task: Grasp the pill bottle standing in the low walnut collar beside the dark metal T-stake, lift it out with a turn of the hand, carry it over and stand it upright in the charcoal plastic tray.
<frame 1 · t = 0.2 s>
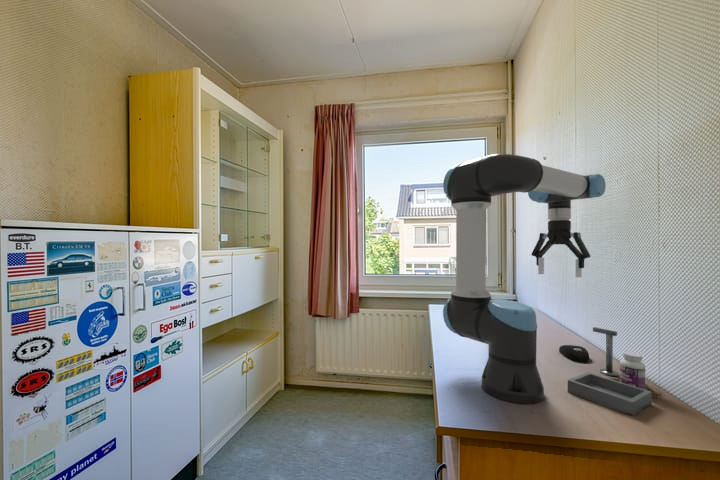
hand: (558, 275, 123), 28 cm above the table, fingers open, 13 cm apart
computer mouse: (574, 358, 113), on the table
collar: (632, 388, 88), on the table
tray: (607, 397, 82), on the table
pill bottle: (632, 389, 88), resting in collar
t stake: (609, 373, 98), on the table
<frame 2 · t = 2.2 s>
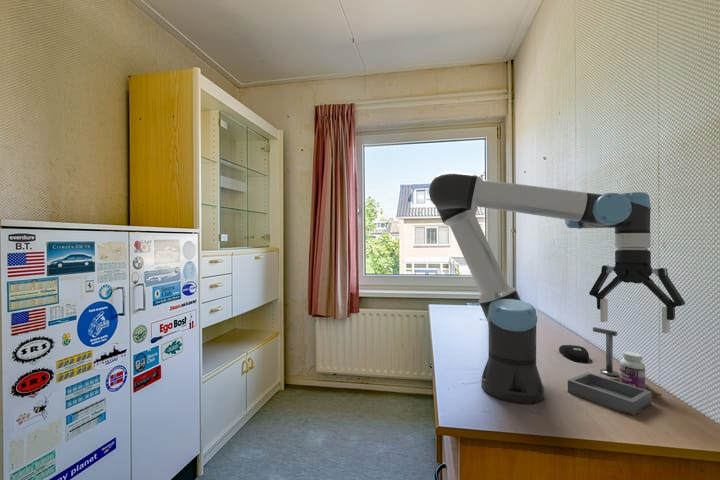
hand: (633, 326, 88), 17 cm above the table, fingers open, 13 cm apart
nothing on the table moved.
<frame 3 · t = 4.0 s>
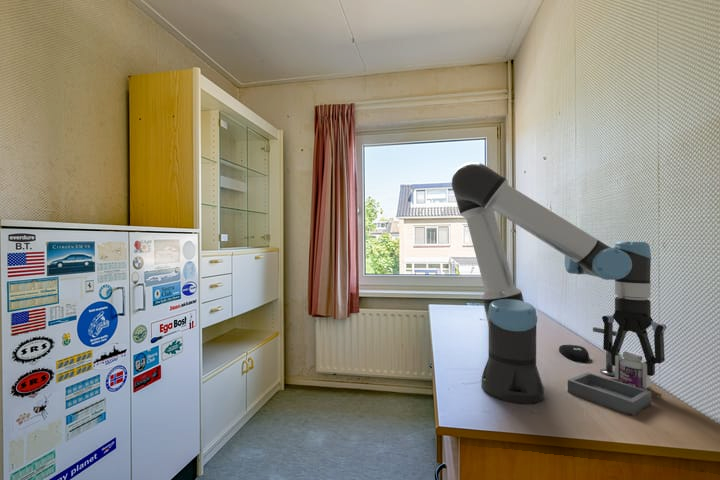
hand: (632, 382, 88), 2 cm above the table, fingers closed on pill bottle, 5 cm apart
pill bottle: (632, 389, 88), resting in collar, touching gripper
everything else where it was.
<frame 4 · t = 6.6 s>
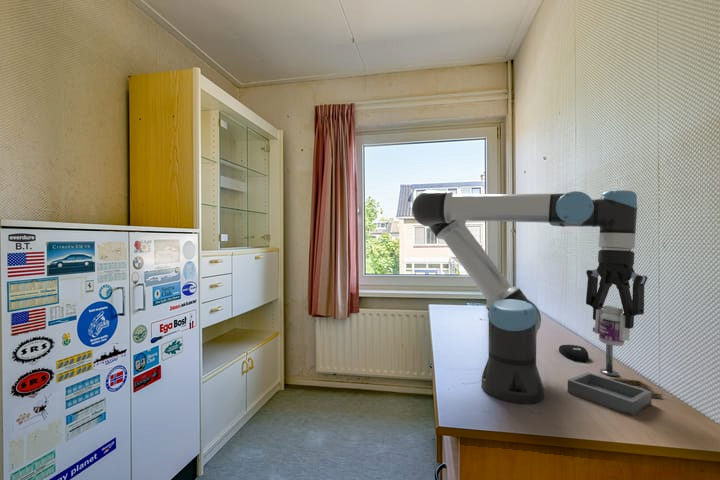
hand: (611, 336, 85), 15 cm above the table, fingers closed on pill bottle, 5 cm apart
pill bottle: (611, 343, 85), point 13 cm above the table, touching gripper
everything else where it was.
when the fingers open (4 cm above the table, at t = 9.3 s): pill bottle drops 2 cm, resting on tray.
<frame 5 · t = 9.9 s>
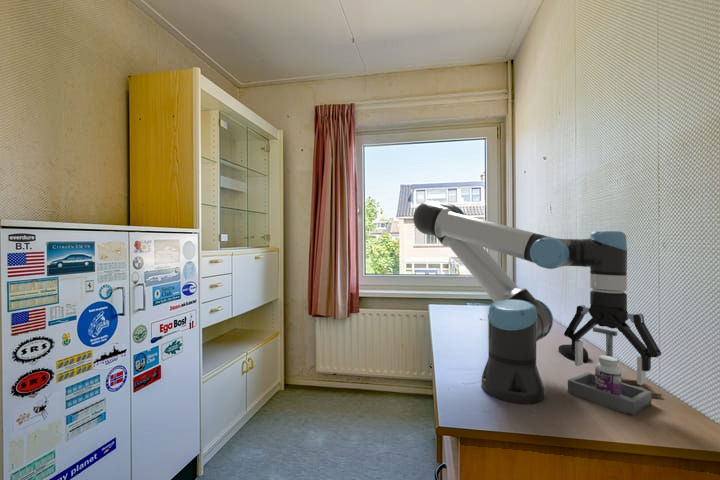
hand: (607, 373, 83), 6 cm above the table, fingers open, 13 cm apart
pill bottle: (607, 396, 82), resting on tray
everything else where it was.
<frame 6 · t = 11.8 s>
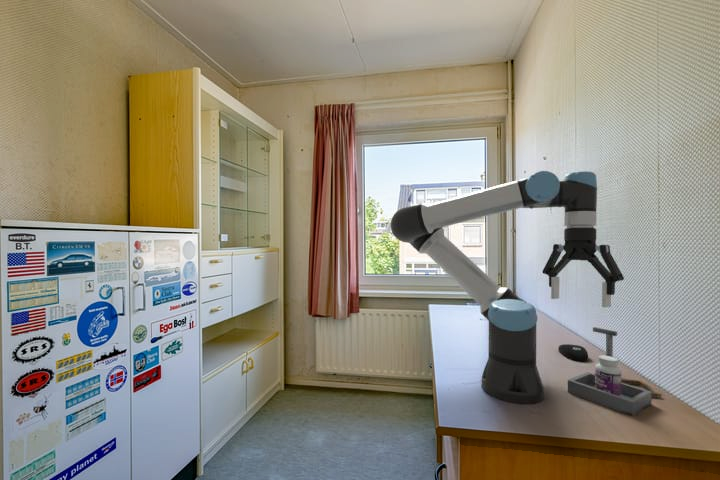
hand: (579, 302, 91), 23 cm above the table, fingers open, 13 cm apart
nothing on the table moved.
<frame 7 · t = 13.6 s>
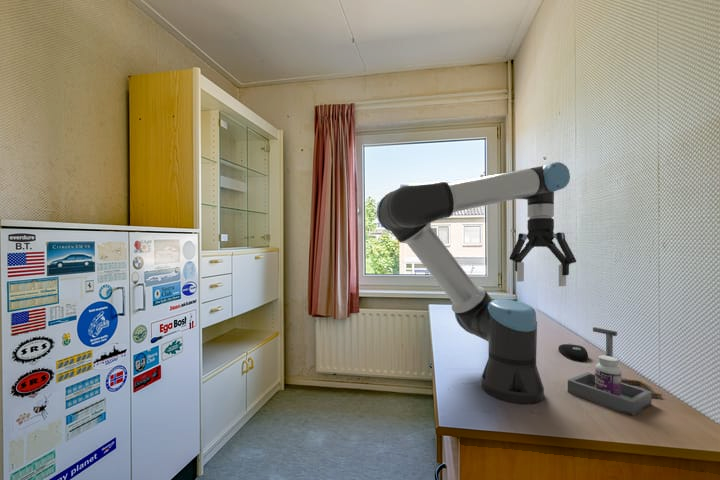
hand: (540, 283, 104), 27 cm above the table, fingers open, 13 cm apart
nothing on the table moved.
at the end: pill bottle inside the target area on the tray (0.0 cm from its centre), point 0.4 cm above the tray's base; pill bottle tilted 0°; the gripper is holding nothing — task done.
